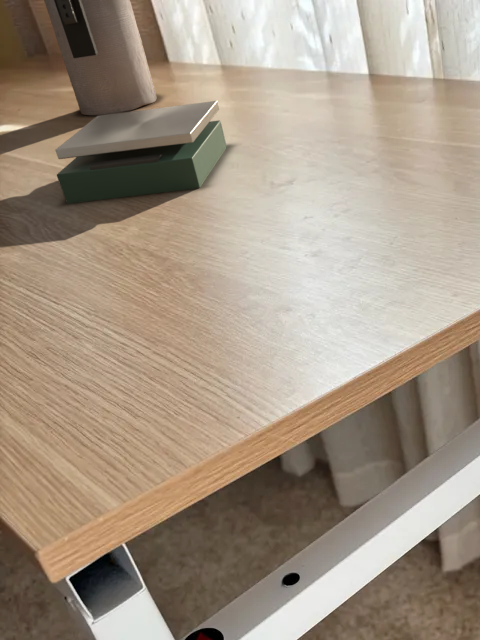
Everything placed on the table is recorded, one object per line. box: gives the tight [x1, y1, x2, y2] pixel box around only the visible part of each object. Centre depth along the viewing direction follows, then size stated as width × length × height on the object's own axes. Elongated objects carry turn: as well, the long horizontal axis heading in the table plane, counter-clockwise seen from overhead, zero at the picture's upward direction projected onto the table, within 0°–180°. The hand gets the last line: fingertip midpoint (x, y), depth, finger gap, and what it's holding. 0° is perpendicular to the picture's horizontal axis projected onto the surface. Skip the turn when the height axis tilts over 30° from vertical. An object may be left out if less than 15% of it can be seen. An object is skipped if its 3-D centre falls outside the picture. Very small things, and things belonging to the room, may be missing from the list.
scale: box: [56, 119, 228, 205], centre depth 75 cm, size 12×13×3 cm
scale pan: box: [54, 100, 220, 160], centre depth 74 cm, size 12×12×1 cm
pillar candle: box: [43, 0, 158, 116], centre depth 98 cm, size 10×10×15 cm
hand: (103, 45), depth 99 cm, fingers open, 13 cm apart
